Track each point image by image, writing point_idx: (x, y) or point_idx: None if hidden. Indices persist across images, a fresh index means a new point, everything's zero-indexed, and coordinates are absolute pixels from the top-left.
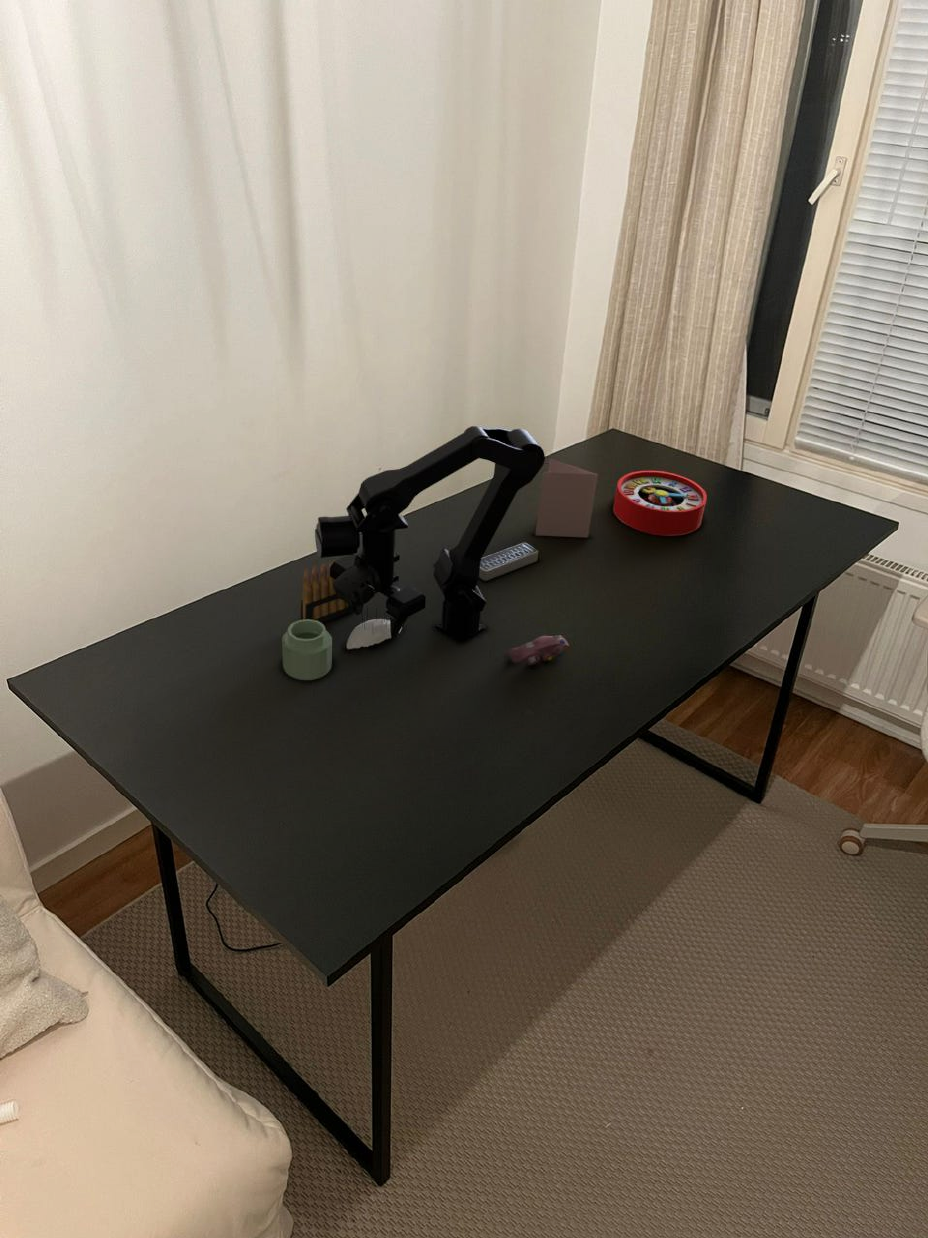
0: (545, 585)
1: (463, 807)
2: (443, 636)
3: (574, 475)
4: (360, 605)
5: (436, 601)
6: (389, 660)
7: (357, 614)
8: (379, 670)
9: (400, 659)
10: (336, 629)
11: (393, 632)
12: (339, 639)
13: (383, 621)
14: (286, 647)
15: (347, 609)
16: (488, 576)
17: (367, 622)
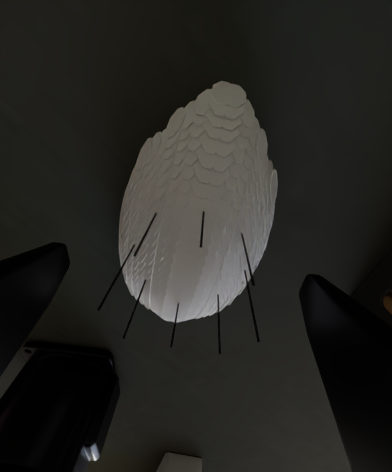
0: (97, 465)
1: None
2: (72, 335)
3: None
4: (320, 331)
5: (187, 400)
6: (53, 160)
7: (308, 278)
8: (8, 63)
9: (38, 193)
10: (363, 181)
11: (4, 259)
12: (313, 130)
13: (182, 302)
14: None
15: (376, 290)
16: (163, 464)
17: (234, 263)
